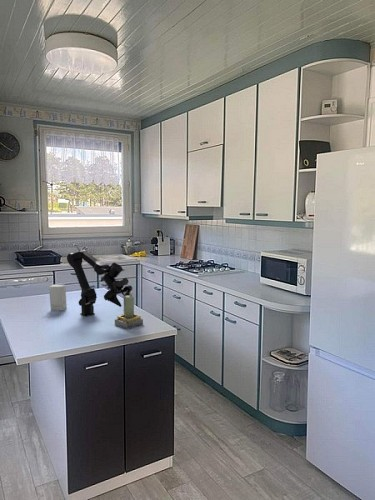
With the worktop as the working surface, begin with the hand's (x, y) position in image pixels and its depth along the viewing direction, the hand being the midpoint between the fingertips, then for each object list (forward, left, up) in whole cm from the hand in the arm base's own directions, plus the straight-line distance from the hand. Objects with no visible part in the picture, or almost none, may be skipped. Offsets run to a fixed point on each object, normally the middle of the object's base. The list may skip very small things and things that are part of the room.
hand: (126, 304), depth 214 cm
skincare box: (-11, +54, -11) cm, 56 cm away
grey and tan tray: (-1, -3, -11) cm, 11 cm away
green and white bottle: (0, -2, -8) cm, 8 cm away
